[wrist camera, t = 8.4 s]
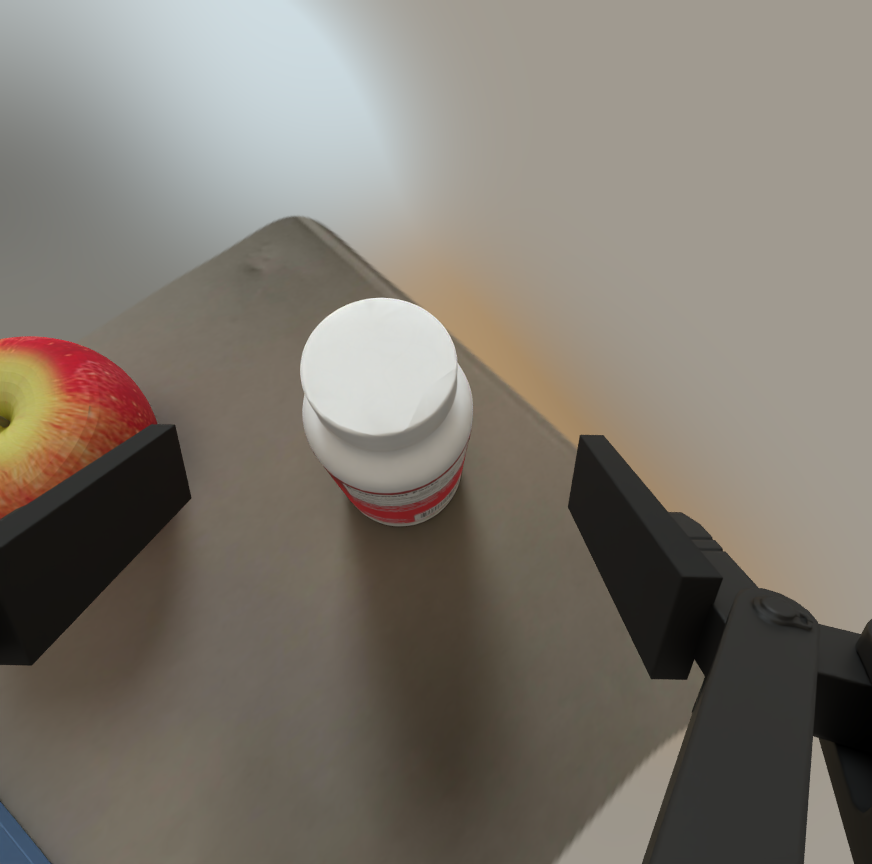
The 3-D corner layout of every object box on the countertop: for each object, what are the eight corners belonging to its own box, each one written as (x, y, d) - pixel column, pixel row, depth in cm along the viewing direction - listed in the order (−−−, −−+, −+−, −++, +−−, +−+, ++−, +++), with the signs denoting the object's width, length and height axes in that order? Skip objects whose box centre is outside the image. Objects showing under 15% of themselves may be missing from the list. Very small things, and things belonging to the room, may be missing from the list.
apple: (229, 442, 24) (99, 337, 14) (110, 587, 21) (-143, 571, 12) (116, 372, 25) (-68, 236, 16) (-8, 499, 23) (-316, 423, 13)
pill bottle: (358, 407, 25) (305, 264, 14) (468, 424, 24) (494, 290, 14) (330, 518, 22) (244, 443, 12) (451, 539, 22) (468, 478, 12)
